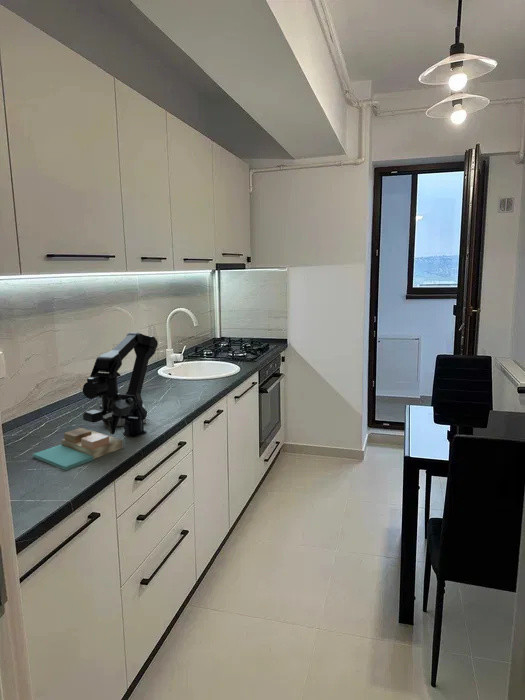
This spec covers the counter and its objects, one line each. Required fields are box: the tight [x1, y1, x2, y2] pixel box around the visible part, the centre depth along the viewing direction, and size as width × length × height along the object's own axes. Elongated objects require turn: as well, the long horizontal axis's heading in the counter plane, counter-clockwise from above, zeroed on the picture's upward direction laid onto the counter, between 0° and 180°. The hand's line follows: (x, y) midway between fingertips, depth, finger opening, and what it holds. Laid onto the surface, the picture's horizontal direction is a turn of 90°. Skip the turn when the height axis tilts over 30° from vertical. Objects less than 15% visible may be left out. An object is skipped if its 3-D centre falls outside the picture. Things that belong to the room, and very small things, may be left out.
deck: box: [61, 429, 124, 460], centre depth 166 cm, size 12×18×3 cm, turn 54°
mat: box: [32, 444, 94, 471], centre depth 157 cm, size 10×19×1 cm, turn 54°
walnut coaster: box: [63, 427, 92, 443], centre depth 167 cm, size 6×6×2 cm
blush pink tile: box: [81, 432, 110, 449], centre depth 161 cm, size 6×6×2 cm
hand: (112, 434), depth 167 cm, fingers closed
